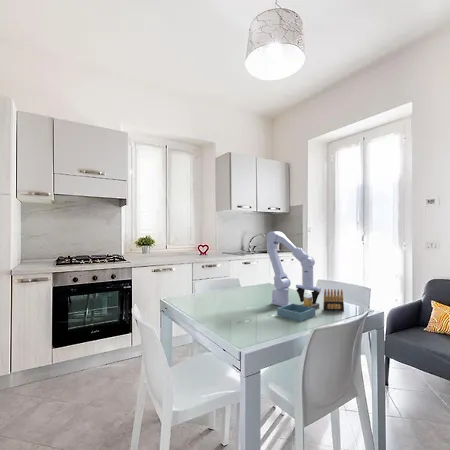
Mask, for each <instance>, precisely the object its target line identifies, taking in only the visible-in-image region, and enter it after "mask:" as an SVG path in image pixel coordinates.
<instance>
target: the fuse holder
mask: <svg viewBox="0 0 450 450" xmlns="http://www.w3.org/2000/svg"><path fill="white" fill-rule="evenodd" d="M300 305H302V306H305V305H304V303H301V304H300ZM307 307H311V308H315V310H317V308H318V309H320V303H318V302H316V304H313V301H312V305H311V306H307Z"/></svg>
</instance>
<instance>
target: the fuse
mask: <svg viewBox="0 0 450 450" xmlns="http://www.w3.org/2000/svg"><path fill="white" fill-rule="evenodd" d="M312 302H313V299H312V295H311V296H310V295H305V296H304V301H303V304H304V305H305V306H311V305H312Z"/></svg>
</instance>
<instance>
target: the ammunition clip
mask: <svg viewBox="0 0 450 450" xmlns="http://www.w3.org/2000/svg"><path fill="white" fill-rule="evenodd" d="M344 304H345V303H344V292H343V289H342V288H341V290H340V289H337V290H336V289H332V288H331V290H330V288H328V289H326V288H325V289H324V292H323V311H324V312H345V305H344Z"/></svg>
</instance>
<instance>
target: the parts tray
mask: <svg viewBox="0 0 450 450" xmlns="http://www.w3.org/2000/svg"><path fill="white" fill-rule="evenodd" d="M276 316H277V317H282V318H285V319H289V320H293V321H296V322H300V323H301V322H303V321H306V320H308V319H310V318H313V317H315V316H316V309H315V308H311V307H307V306H302V305H301V304H296V303H291V304H289V305H286V306H280V307H277V308H276Z"/></svg>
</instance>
